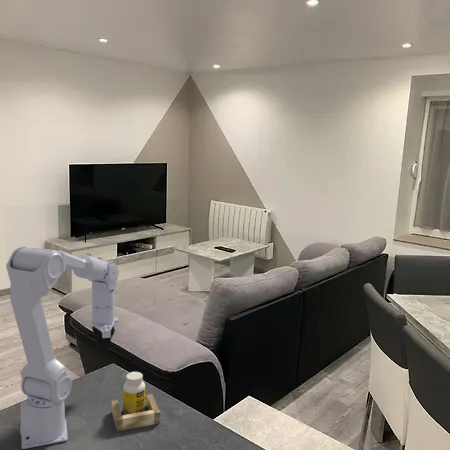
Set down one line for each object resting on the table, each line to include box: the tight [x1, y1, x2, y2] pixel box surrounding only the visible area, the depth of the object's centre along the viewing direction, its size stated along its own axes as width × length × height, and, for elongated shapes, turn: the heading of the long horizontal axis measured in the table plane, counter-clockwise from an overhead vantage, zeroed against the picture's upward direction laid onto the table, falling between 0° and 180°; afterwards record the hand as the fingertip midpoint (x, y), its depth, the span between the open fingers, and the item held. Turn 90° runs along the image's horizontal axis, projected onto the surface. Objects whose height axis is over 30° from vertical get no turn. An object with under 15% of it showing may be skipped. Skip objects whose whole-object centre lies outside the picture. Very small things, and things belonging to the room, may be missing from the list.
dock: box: [111, 393, 161, 432], centre depth 112 cm, size 10×8×3 cm
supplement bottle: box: [122, 371, 146, 415], centre depth 113 cm, size 5×5×10 cm
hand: (103, 352), depth 123 cm, fingers closed
